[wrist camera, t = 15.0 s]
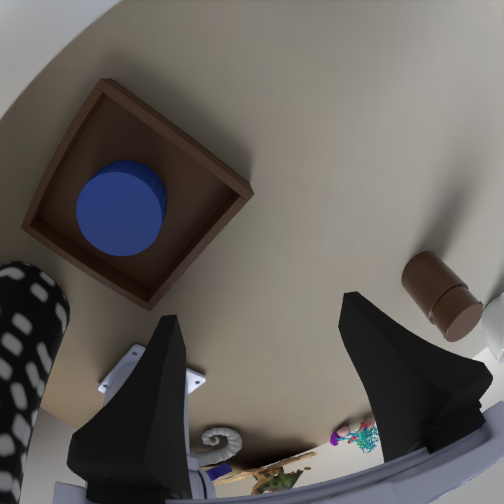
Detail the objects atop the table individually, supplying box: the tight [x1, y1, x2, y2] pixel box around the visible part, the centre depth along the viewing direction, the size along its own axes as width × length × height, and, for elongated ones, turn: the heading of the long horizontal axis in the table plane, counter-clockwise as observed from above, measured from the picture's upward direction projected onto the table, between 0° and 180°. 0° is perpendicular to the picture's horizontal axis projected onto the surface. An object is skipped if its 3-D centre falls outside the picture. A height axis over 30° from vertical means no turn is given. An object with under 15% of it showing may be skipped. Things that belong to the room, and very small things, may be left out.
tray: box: [21, 78, 254, 311], centre depth 18 cm, size 11×11×2 cm
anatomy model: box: [330, 417, 379, 452], centre depth 38 cm, size 5×8×7 cm
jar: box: [402, 251, 483, 342], centre depth 23 cm, size 4×4×7 cm
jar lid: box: [76, 159, 168, 256], centre depth 17 cm, size 5×5×3 cm
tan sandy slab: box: [213, 452, 317, 495], centre depth 40 cm, size 18×14×8 cm
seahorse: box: [189, 427, 242, 468], centre depth 34 cm, size 5×12×20 cm
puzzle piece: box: [205, 462, 232, 481], centre depth 37 cm, size 10×12×2 cm
